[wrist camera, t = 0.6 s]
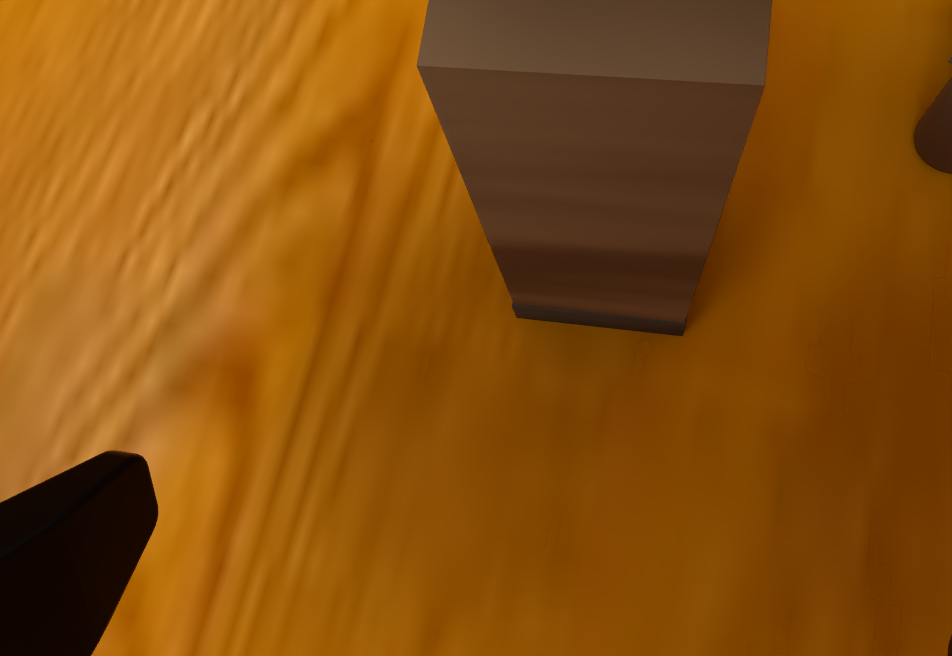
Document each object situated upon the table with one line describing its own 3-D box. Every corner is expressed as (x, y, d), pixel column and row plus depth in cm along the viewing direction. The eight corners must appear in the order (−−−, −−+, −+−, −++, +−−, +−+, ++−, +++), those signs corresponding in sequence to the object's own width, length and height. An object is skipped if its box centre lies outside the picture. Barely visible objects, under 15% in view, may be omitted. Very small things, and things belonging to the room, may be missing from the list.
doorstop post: (682, 335, 23) (768, 89, 10) (516, 317, 24) (412, 68, 11) (697, 180, 24) (793, -217, 11) (538, 168, 25) (464, -215, 12)
